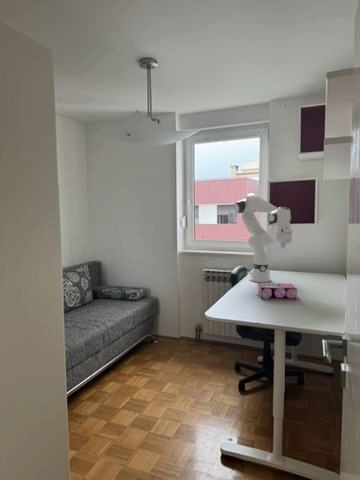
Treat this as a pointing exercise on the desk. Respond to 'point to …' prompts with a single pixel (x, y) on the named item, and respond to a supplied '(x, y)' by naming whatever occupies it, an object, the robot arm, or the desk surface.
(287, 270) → the desk surface
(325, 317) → the desk surface
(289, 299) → the mat
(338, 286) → the desk surface
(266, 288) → the gum box
